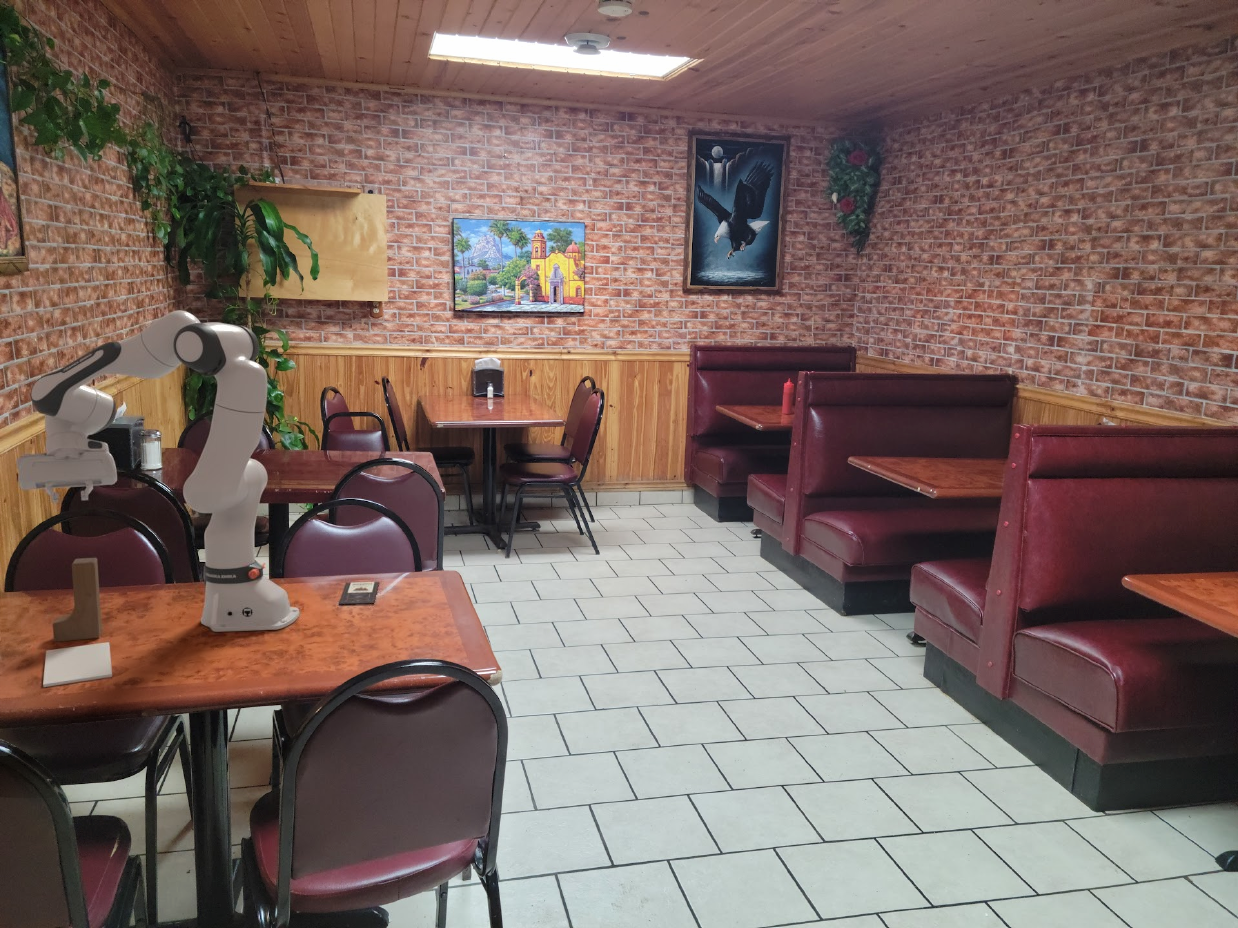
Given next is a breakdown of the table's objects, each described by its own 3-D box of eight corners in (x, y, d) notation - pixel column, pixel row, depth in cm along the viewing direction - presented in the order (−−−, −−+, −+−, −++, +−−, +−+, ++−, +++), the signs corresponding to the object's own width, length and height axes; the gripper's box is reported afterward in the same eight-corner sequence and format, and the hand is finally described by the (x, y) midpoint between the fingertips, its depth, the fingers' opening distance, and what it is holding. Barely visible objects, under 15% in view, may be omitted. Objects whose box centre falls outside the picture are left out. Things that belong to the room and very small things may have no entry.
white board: (46, 653, 199) (46, 650, 199) (109, 644, 205) (109, 641, 205) (43, 687, 182) (43, 684, 182) (112, 676, 188) (111, 673, 188)
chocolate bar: (338, 603, 236) (345, 582, 253) (338, 607, 236) (346, 585, 254) (374, 602, 238) (379, 581, 255) (374, 606, 238) (379, 585, 255)
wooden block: (53, 642, 205) (47, 565, 202) (57, 635, 209) (51, 559, 206) (99, 638, 208) (94, 562, 205) (102, 631, 213) (97, 557, 209)
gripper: (15, 446, 214) (16, 495, 208) (114, 442, 225) (118, 489, 218) (17, 462, 219) (18, 510, 212) (114, 457, 229) (118, 503, 222)
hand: (70, 499), depth 215 cm, fingers open, 5 cm apart
